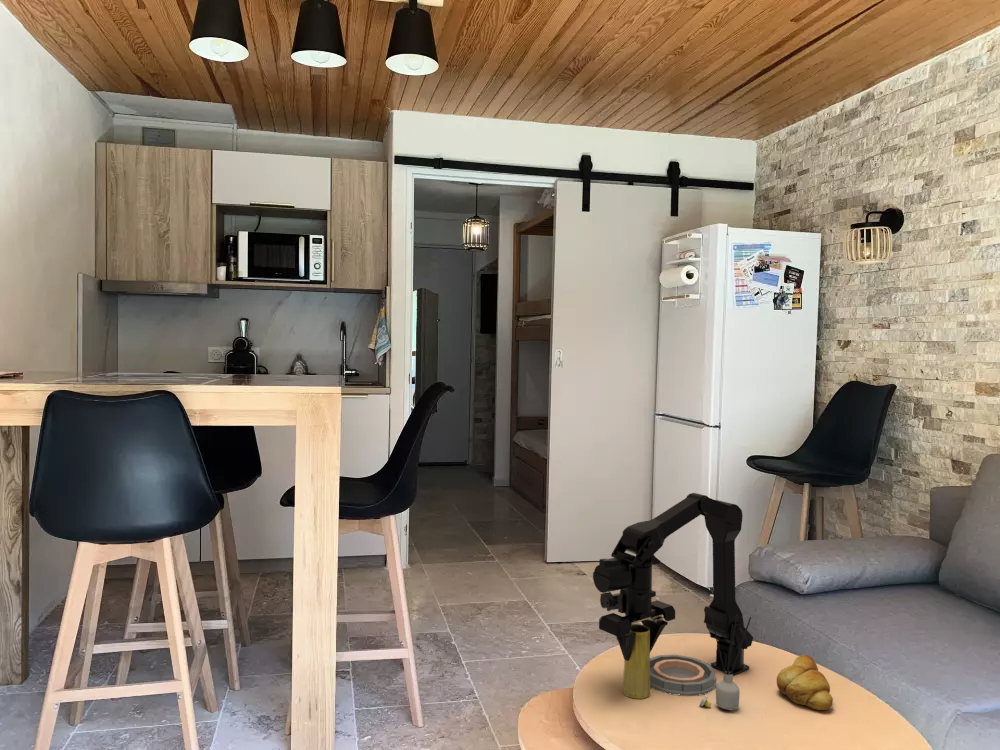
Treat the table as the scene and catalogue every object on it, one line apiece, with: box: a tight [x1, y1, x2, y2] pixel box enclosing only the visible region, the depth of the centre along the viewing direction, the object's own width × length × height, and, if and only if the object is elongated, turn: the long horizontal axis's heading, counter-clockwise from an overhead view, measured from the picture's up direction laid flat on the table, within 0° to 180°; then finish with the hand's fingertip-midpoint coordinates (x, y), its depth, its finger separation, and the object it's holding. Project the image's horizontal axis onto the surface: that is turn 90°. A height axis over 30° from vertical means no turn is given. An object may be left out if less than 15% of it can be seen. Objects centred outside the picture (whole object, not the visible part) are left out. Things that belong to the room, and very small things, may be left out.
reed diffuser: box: [699, 614, 752, 711], centre depth 154 cm, size 10×7×20 cm
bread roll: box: [776, 654, 834, 711], centre depth 159 cm, size 13×10×8 cm
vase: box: [621, 623, 652, 700], centre depth 161 cm, size 6×6×14 cm
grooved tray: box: [650, 654, 717, 696], centre depth 169 cm, size 16×16×2 cm
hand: (637, 656), depth 161 cm, fingers open, 6 cm apart
